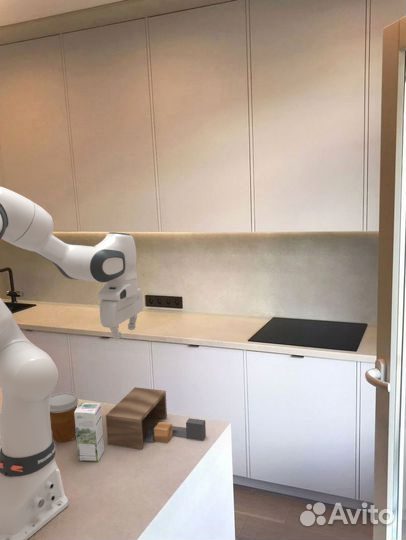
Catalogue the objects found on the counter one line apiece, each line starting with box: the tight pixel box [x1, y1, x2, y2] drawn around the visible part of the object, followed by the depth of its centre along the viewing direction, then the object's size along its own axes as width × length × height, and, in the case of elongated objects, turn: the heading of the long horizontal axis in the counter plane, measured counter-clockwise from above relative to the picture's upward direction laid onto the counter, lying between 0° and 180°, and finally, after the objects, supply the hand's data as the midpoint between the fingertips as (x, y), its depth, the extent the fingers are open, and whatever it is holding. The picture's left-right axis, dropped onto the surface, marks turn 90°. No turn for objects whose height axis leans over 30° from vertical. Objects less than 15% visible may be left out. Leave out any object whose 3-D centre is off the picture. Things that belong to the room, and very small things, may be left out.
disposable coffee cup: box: [50, 392, 79, 443], centre depth 143 cm, size 10×10×12 cm
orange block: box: [154, 421, 174, 444], centre depth 141 cm, size 4×4×4 cm
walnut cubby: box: [105, 387, 168, 450], centre depth 145 cm, size 19×10×9 cm, turn 162°
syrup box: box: [74, 402, 105, 462], centre depth 132 cm, size 6×6×14 cm
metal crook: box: [145, 417, 207, 444], centre depth 140 cm, size 7×16×5 cm, turn 72°
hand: (124, 333), depth 143 cm, fingers open, 8 cm apart
